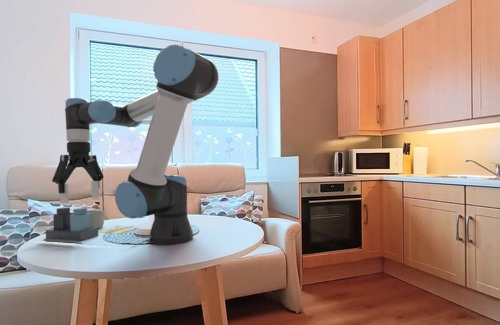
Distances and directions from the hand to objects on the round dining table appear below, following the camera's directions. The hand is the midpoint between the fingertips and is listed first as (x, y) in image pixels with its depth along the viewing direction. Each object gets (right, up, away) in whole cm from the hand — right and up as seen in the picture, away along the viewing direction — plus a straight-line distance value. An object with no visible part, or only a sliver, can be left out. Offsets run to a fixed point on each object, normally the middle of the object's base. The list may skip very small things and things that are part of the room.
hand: (80, 200), depth 112 cm
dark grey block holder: (-4, -15, +2) cm, 15 cm away
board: (+9, -14, +12) cm, 21 cm away
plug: (0, -14, 0) cm, 14 cm away
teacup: (-5, -15, +15) cm, 22 cm away
